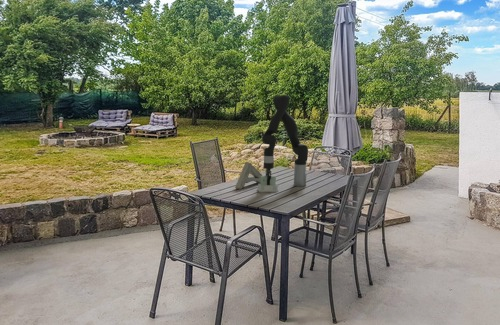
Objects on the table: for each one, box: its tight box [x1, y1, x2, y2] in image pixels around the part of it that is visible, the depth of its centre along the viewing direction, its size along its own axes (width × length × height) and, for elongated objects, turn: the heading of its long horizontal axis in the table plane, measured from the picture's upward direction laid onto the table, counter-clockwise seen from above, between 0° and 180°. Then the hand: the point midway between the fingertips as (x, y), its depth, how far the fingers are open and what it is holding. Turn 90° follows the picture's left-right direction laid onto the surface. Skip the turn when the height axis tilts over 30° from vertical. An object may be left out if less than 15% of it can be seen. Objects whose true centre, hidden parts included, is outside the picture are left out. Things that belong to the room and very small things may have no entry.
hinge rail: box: [257, 183, 279, 193], centre depth 284 cm, size 14×8×5 cm, turn 96°
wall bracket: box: [234, 161, 264, 191], centre depth 301 cm, size 22×4×30 cm
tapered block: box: [260, 175, 277, 185], centre depth 283 cm, size 11×3×8 cm, turn 96°
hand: (268, 184), depth 283 cm, fingers closed on tapered block, 2 cm apart
